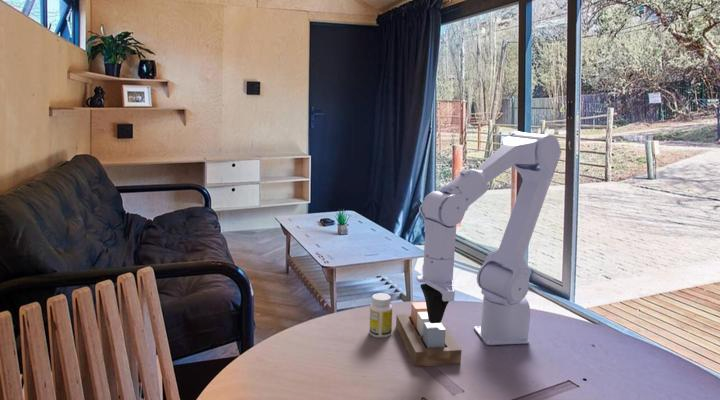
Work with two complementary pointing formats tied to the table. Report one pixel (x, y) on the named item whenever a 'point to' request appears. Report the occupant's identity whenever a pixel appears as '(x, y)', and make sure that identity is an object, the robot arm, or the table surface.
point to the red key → (417, 310)
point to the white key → (421, 321)
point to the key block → (420, 350)
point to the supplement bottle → (381, 315)
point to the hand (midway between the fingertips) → (434, 321)
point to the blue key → (434, 335)
